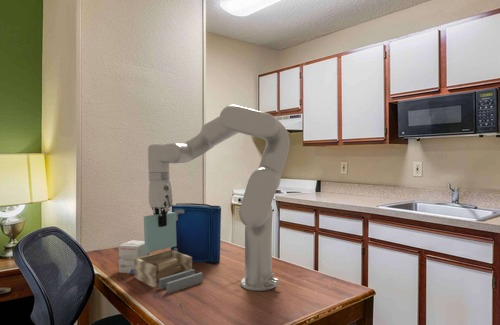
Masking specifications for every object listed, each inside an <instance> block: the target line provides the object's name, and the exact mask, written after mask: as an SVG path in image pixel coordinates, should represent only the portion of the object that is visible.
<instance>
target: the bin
mask: <svg viewBox="0 0 500 325" xmlns="http://www.w3.org/2000/svg"><path fill="white" fill-rule="evenodd" d="M171 257H172V258H175V259H178V265H179V266H181V267H182V272H185V271H188V270H191V269H193V262H192V257H190V256H188V255H185V254H182V253H179V252H177V251H174V250H171V249H169V250H165V251H161V252H156V253H152V254H149V255H147V256H143V257H139V258H134V278H135V279H136V280H138V281H141V282H142V283H143V284H146V285H148V286H150V287H152V288H153V289H154V288H158V287H159V283H156V266H154V265H153V262H157V261H161V260H164V259H168V258H171Z"/></svg>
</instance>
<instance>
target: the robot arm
mask: <svg viewBox="0 0 500 325" xmlns="http://www.w3.org/2000/svg"><path fill="white" fill-rule="evenodd" d="M239 133H241V134H244V135H247V136H251V137H254V138H258V139H262V140H264V141H265V147H264V150H263V152H262V156H261V159H260V162H259V164H258V167H257V169H255V170H254V171H253V172H252V173H250V174H251V175H250V176H249V178H248V180H247V183H246V186H245V187H246V188H245V190H244V194H243V195H242V196H243V197H242V200H241V204H240V206H239V213H238V214H239V219H240V221H241V222H242V224H243V225H244V226H245V227H244V277H243V278H241V280H240V285H241V287H242V288H244V289H245V290H249V291H255V292H256V291H257V292H264V291H265V292H266V291H269V290H271V289H273V288H277V287H278V284H280V279H279V278H275V273H274V272H273V271H272V270H273V269H272V268H273V267H272V266H273V263H272V262H273V260H272V257H273V256H272V254H273V253H272V252H273V250H272V247H273V246H272V244H273V243H272V241H273V240H272V238H273V236H272V234H273V231H272V230H273V229H272V228H273V227H272V226H273V206H272V203H273V201H274V197H275V194H276V191H277V190H278V188H279V187H280V184H281V179H282V176H283V172H284V169H285V165H286V162H287V159H288V154H289V151H290V144H291V142H290V140H291V139H290V135H289V132H288V130H287V129H286V127H285V126H284V124H283V123H282V122H280V120H279V119H277V118H276V117H275V116H273V115H272V114H271V113H268V112H265V111H260V110H256V109H253V108H248V107H243V106H240V105H237V104H230V105H226V106H225V107H224V108H223V109H222V110H221V111H220V113H219V116H217V117H215V118H213V119H212V120H210V121H209V122H207V123H205V124H203V125H202V127H201V130H200V132H199V133H197V135H195V136H194V137H192V138H191V139H189V140H187V141H185V142H171V143H166V144H163V143H161V144H160V143H159V144H158V143H157V144H155V143H154V144H149V145H148V147H147V164H148V165H147V166H148V182H149V184H148V204H149V206H150V208H151V210H152V215H156V214H159V216H158V226H159V227H163V226H167V213H169V211H171V208H172V205H174V204H173V192H172V191H173V190H172V185H171V181H170V164H184V163H189V162H191V161H193V160H195V159H196V158H199V157H200V156H202V155H204V154H206V153H207V152H209V151H210V150H212V149H213V148H214V147H215V146H218V145H219V144H221V143H222V142H224V141H225V140H228V139H230V138H231V137H233V136H235V135H237V134H239Z"/></svg>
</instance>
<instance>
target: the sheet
mask: <svg viewBox="0 0 500 325" xmlns="http://www.w3.org/2000/svg"><path fill="white" fill-rule="evenodd" d="M158 216H159V214H156V215H153V214H151V215H144V216H143V228H144V229H143V233H144V240H143V241H145V252H147V253H149V254H150V253H153V252H158V251H161V250H166V249H171V247H175V246H177V243H176V213H175V212H172V211H171V212H169V211H168V212H167V226H163V227H159V226H158Z"/></svg>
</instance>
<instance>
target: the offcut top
mask: <svg viewBox="0 0 500 325" xmlns="http://www.w3.org/2000/svg"><path fill="white" fill-rule="evenodd" d="M153 265H154V266H156V272H158V273H161V272H164V271H167V270H171V269H174V268H177V267H178V259H175V258H172V257H171V258H168V259H164V260H161V261H157V262H153Z"/></svg>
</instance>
